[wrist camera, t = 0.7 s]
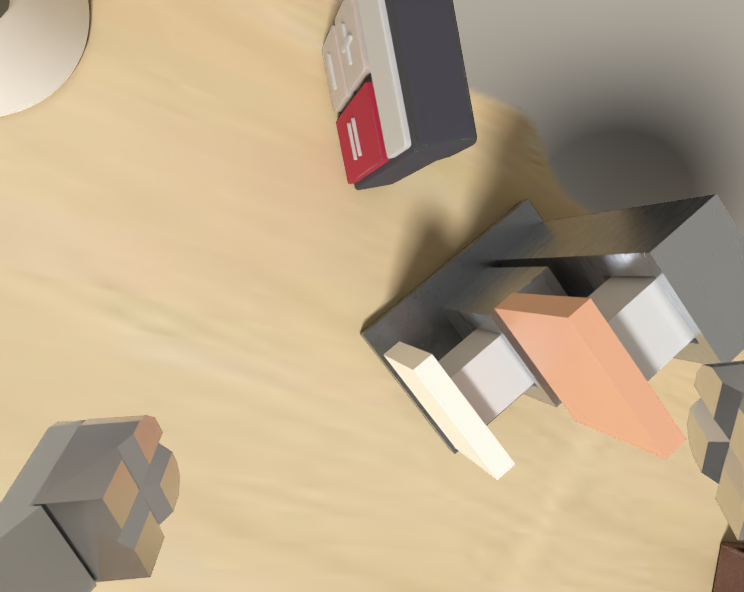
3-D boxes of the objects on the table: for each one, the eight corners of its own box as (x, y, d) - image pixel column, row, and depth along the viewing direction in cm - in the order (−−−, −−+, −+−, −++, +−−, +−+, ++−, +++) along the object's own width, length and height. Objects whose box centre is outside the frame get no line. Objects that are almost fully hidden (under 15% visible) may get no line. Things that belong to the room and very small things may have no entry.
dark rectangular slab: (315, 44, 45) (360, -66, 30) (371, 38, 46) (441, -72, 31) (345, 193, 46) (402, 155, 31) (399, 183, 47) (479, 142, 32)
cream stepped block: (383, 354, 43) (413, 370, 36) (461, 289, 44) (505, 292, 38) (455, 448, 45) (497, 480, 38) (529, 382, 46) (583, 402, 39)
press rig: (359, 333, 46) (446, 371, 28) (522, 200, 49) (695, 158, 31) (450, 450, 48) (584, 555, 30) (601, 316, 51) (805, 339, 33)
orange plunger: (494, 308, 36) (568, 317, 29) (583, 232, 38) (677, 221, 30) (575, 420, 38) (665, 459, 30) (658, 344, 39) (766, 362, 31)
